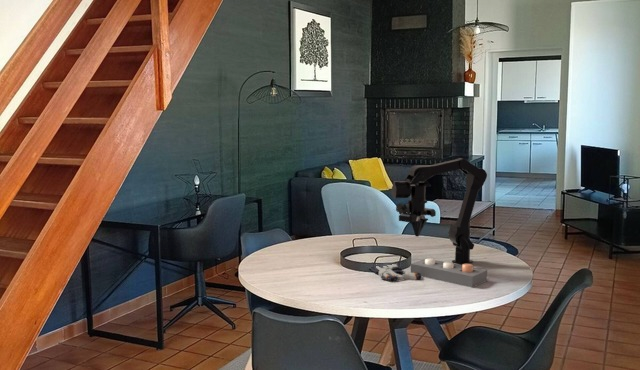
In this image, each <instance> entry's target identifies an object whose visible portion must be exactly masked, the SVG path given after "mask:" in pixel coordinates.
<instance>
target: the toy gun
mask: <svg viewBox="0 0 640 370" xmlns="http://www.w3.org/2000/svg"><path fill="white" fill-rule="evenodd" d="M384 263H394V261H388V262H387V261H385V262H384ZM387 266H388V267H387ZM387 266H383V267H381V266H380V267H379V266H376V268H375V267H371V270H370V271H372V272H374V273H375V274H377V275H378V276H379V277H380V279H382V280H384V281H387V282H388V283H396V282H398V281H403V280H410V281H411V280H412V281H421V279H422V276H421V273H411V272H407V271H404V270H402V266H401V265H400V264H398V263H396V264H392V265H387Z"/></svg>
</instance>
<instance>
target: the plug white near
mask: <svg viewBox="0 0 640 370" xmlns="http://www.w3.org/2000/svg"><path fill="white" fill-rule="evenodd" d="M424 259H425V264H427V265H434V264H435V260H436V259H435V258H430V257H429V258H428V259H426V258H424Z"/></svg>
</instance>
